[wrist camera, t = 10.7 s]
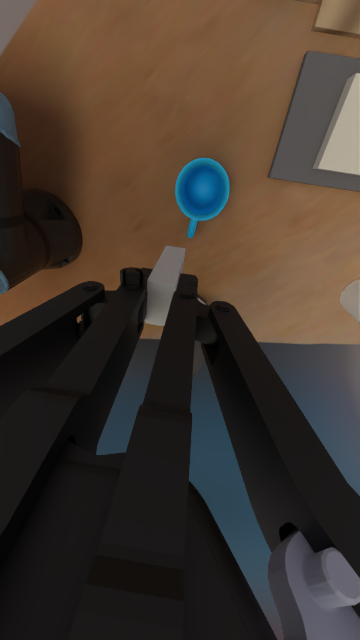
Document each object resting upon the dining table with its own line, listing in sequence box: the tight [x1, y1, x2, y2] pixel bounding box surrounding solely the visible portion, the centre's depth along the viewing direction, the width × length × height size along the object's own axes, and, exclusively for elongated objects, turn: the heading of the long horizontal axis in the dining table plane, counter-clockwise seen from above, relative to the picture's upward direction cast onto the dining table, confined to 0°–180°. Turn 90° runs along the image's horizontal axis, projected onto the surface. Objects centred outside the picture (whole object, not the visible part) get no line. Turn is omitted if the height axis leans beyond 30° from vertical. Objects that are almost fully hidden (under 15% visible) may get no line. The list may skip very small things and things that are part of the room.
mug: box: [175, 158, 230, 238], centre depth 37 cm, size 12×8×8 cm
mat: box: [268, 51, 360, 192], centre depth 33 cm, size 20×14×1 cm
